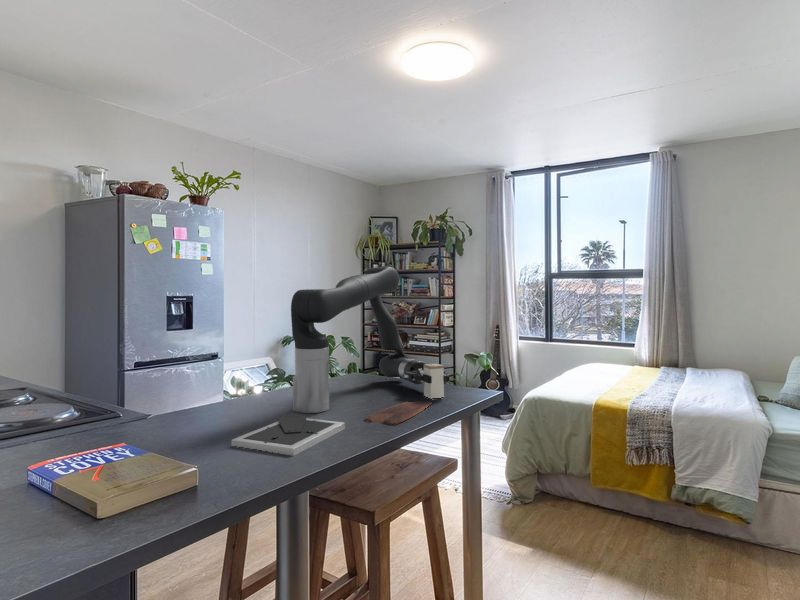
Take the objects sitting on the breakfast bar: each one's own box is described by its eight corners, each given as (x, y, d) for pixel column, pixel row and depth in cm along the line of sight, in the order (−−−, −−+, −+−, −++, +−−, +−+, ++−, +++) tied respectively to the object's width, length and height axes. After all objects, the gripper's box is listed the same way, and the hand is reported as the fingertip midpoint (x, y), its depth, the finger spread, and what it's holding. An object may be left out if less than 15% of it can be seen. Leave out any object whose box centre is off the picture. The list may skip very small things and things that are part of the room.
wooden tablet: (407, 397, 146) (438, 396, 142) (408, 404, 146) (439, 403, 142) (361, 418, 123) (395, 417, 118) (361, 426, 123) (396, 427, 118)
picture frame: (290, 424, 122) (231, 449, 103) (290, 413, 122) (231, 436, 103) (345, 431, 116) (293, 459, 97) (345, 419, 116) (293, 444, 97)
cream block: (423, 396, 150) (423, 364, 150) (436, 395, 152) (436, 363, 152) (430, 399, 146) (430, 366, 146) (444, 398, 148) (443, 365, 148)
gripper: (393, 361, 159) (416, 368, 144) (432, 358, 165) (458, 365, 150) (393, 384, 159) (416, 393, 144) (432, 380, 165) (458, 389, 150)
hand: (438, 379), depth 147 cm, fingers closed on cream block, 4 cm apart
